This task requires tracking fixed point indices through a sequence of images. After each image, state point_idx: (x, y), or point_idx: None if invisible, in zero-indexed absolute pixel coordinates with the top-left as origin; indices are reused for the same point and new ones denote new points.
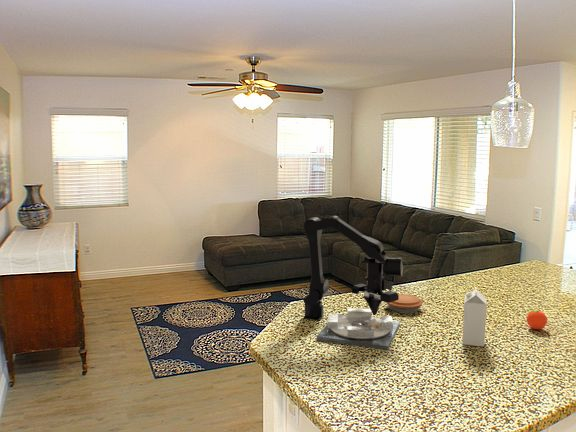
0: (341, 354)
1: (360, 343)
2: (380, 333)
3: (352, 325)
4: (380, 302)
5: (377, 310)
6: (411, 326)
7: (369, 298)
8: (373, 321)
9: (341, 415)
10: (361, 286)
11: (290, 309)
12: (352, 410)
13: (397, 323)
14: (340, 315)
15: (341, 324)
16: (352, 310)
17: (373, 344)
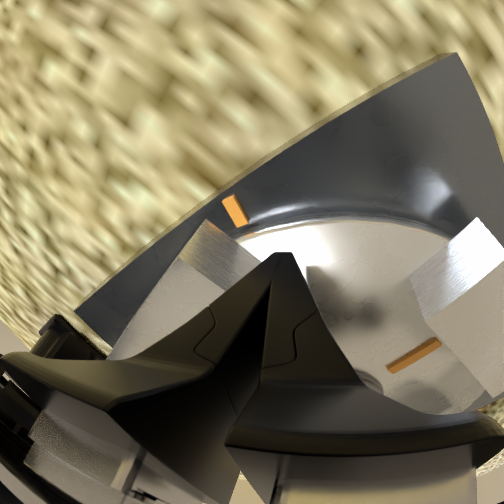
0: None
1: None
2: (479, 385)
3: None
4: (354, 382)
5: (305, 280)
6: (497, 14)
7: (224, 496)
8: (349, 311)
9: (481, 471)
10: (3, 499)
11: (14, 331)
12: (490, 465)
13: (476, 114)
14: (96, 313)
15: None
16: None
17: (469, 410)
